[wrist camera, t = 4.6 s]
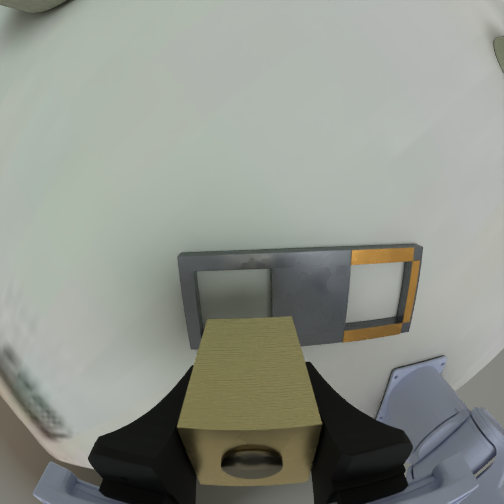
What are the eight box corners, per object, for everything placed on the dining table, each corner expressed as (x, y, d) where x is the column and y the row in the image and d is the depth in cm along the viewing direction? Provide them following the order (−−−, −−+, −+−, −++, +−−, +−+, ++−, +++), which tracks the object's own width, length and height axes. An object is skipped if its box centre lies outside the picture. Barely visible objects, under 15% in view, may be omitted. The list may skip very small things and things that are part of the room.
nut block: (289, 378, 15) (308, 485, 8) (216, 381, 15) (200, 487, 8) (291, 316, 14) (323, 428, 7) (207, 319, 14) (175, 431, 7)
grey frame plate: (403, 325, 23) (409, 332, 22) (193, 341, 23) (190, 349, 22) (415, 243, 21) (423, 247, 20) (181, 252, 21) (177, 257, 20)
